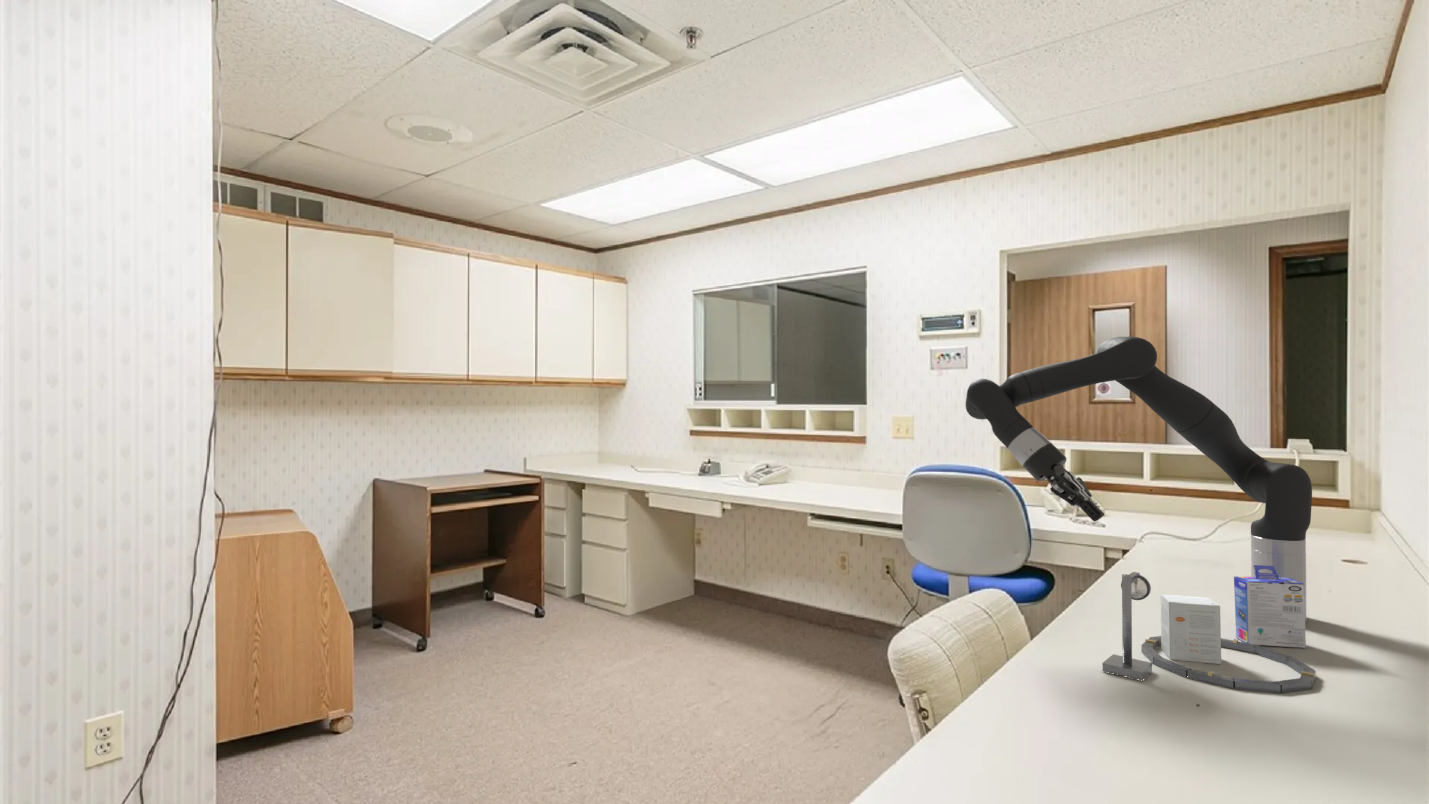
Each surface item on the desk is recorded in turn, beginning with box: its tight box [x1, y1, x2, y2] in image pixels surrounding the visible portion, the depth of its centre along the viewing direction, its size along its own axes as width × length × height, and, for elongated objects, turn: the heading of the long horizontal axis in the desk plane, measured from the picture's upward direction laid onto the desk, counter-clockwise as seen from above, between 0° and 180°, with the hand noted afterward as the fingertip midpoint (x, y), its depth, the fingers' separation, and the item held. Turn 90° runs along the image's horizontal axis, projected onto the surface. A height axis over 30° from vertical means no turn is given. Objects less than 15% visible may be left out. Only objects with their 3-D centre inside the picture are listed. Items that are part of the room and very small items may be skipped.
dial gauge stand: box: [1102, 571, 1153, 682], centre depth 120 cm, size 9×6×16 cm, turn 135°
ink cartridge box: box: [1233, 565, 1307, 649], centre depth 133 cm, size 10×6×14 cm, turn 78°
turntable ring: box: [1141, 635, 1317, 694], centre depth 122 cm, size 24×24×2 cm
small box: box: [1160, 593, 1222, 665], centre depth 125 cm, size 8×6×10 cm
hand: (1099, 518), depth 138 cm, fingers closed
